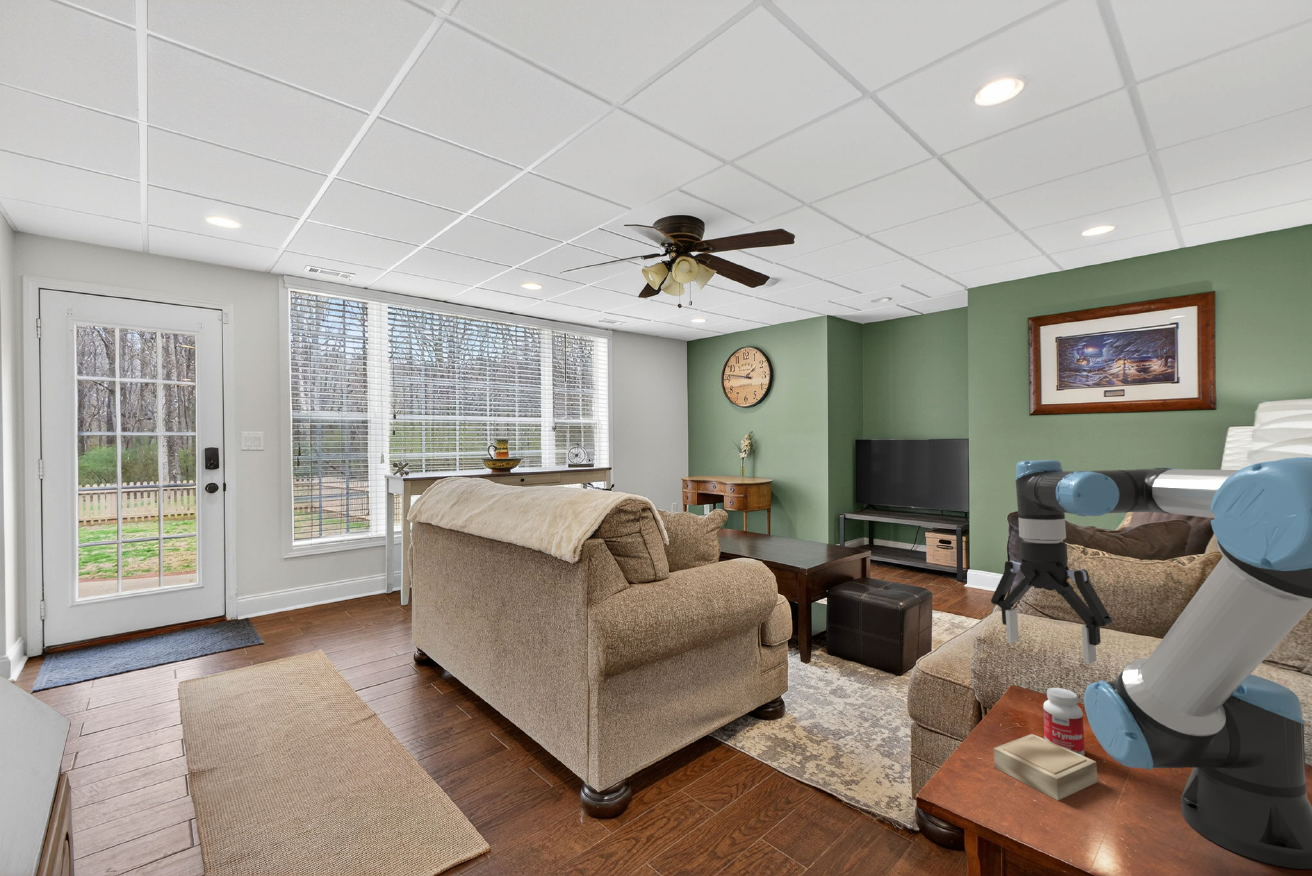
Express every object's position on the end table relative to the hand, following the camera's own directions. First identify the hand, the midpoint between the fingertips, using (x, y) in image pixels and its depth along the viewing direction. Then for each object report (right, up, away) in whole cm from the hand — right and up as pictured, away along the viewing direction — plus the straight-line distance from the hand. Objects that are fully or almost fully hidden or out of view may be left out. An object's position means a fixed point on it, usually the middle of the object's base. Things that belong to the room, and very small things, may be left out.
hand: (1049, 651), depth 109 cm
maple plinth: (-7, -19, -8) cm, 22 cm away
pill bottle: (+2, -19, -1) cm, 19 cm away
